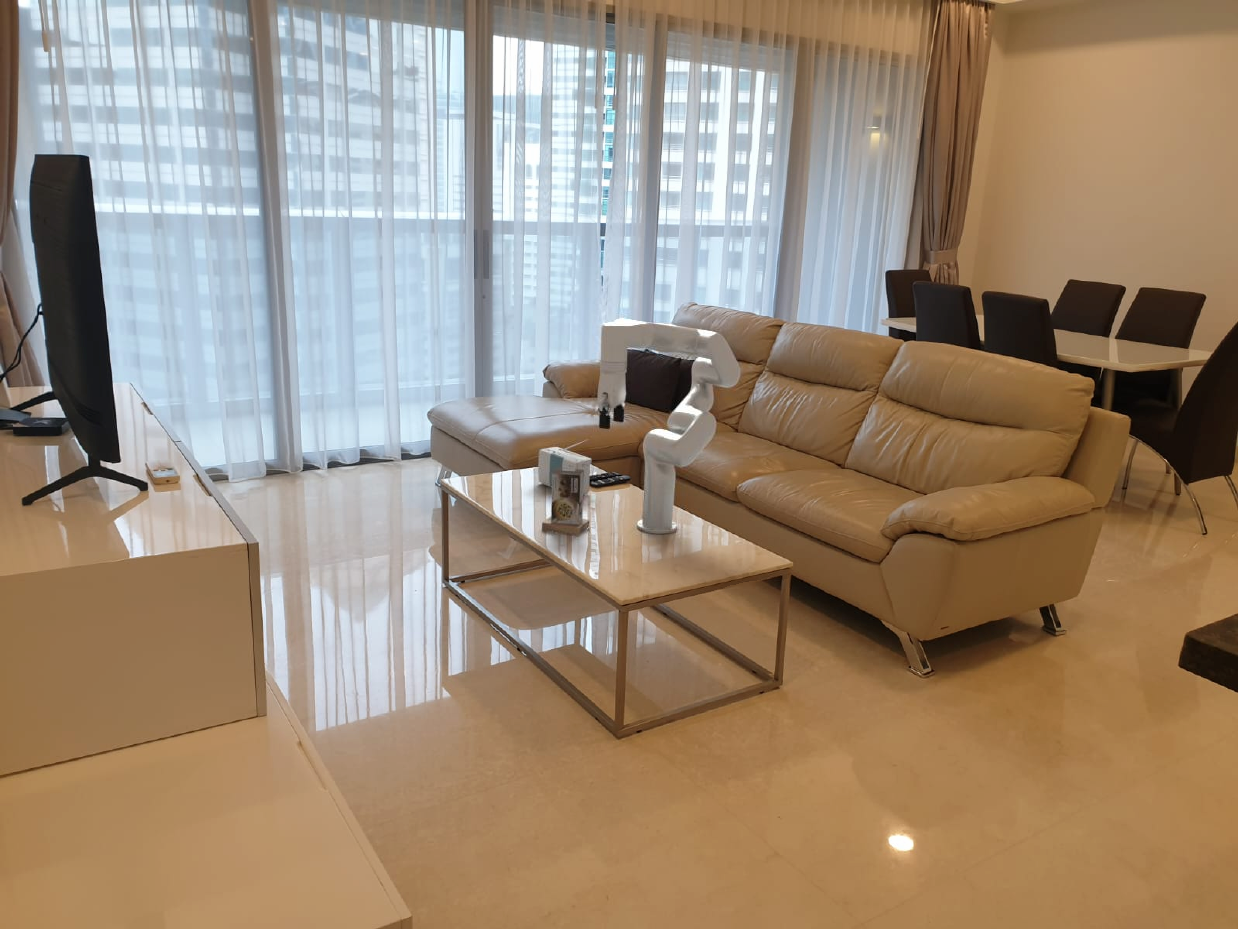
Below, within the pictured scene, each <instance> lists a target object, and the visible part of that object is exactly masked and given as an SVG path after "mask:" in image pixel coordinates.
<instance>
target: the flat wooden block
mask: <svg viewBox="0 0 1238 929" xmlns="http://www.w3.org/2000/svg"><path fill="white" fill-rule="evenodd" d="M588 527H589V528H590V520H589V519H586V518H585V519H584V518H583V519H582V521H581V523H580V525H572V524H559V523H551V516H550V517H548V518H547V519H545V520H544V521H542V522H541V531H545V532H550V531H553V532H552V533H556V532H557V534H562V535H567V534H569V535H568V536H573V535H574V536H575V537H580V535H582V534H583V533H584V532H586V529H587V528H588ZM589 528H588V529H589ZM588 529H587V530H588ZM574 536H573V537H574Z"/></svg>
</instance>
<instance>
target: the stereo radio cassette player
mask: <svg viewBox="0 0 1238 929" xmlns="http://www.w3.org/2000/svg"><path fill="white" fill-rule="evenodd" d="M586 441H589V439H588V438H587V439H585V440H583V441H581V442H577V443H575V444H573V445H570V446H568V447H566V448H561V447H558V446H552V447H547V448H541V449H539V451H538V462H537V463H538V465H537V466H538V468H537V469H538V470H537V473H538V474H537V475H538V482H540V483H541V484H542V485H543V484H544V485H545V486H546V487H549V488H552V473H553V471H554V470H555V468H566V469H579V470H584V479H583V496H584V495H585V494H586V495H588V493H590V478H591V477H590V475H591V474H590V473H591V465H592V458H591V457H588V456H585V455H581V454H578V453H576V452H574V451H573V452H572V451H569V450H568V449H571V448H573V447H575V446H578V445H580V444H582V443H584V442H586Z"/></svg>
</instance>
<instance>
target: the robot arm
mask: <svg viewBox="0 0 1238 929" xmlns="http://www.w3.org/2000/svg"><path fill="white" fill-rule="evenodd" d="M600 330H601V332H600V334H601V335H600V336H601V337H600V363H599V364H600V366H599V370H600V371H599V372H600V373H599V374H600V375H599V378H598V379H599V380H598V387H597V399H596V400H597V401H596V404H597V406H598V409H597V410H598V415H599V419H598V420H599V421H598V428H599V429H603V430H610V429H611V415H610V412H611V410H612V409H613V415H612V416H613V418H612V420H613V422H614V423H615V422H616V423H624V421H625V408H626V405H625V403H626V398H627V397H626V396H627V391H626V373H627V372H628V371H627V367H628V349H630V348H631V349H648V350H652V351H655V352H660V353H664V354H672V355H680V356H687V357H694V358H696V359H695V360H694V361H693V363H692V366H691V385H690V386H691V387H690V391H689V392H688V394H687V395H686V396H685V397H684V398H683V399H682V400H681V402H680V403H678V405H677V406H676V408H675V409H673V411H672V412H671V413H670V415H669V417H667V418H668V419H667V421H666V422H667V427H668V429H669V430H667V429H663V428H656V429H655V428H654V429H652V430H650V431H648V433H646V434H645V436H644V438H643V444H642V446H643V447H642V449H643V450H642V451H643V455H644V456H643V458H644V485H643V500H642V502H643V503H642V514H641V515H642V518H641V519H639V520H638V521H637V522H636V527H637V529H638V530H640V531H642V532H644V533H648V534H656V535H664V534H671V533H674V532H675V531H676V530H677V529H678V525H677V523H676V522H675V521H673V515H674V503H675V502H674V501H675V489H676V488H675V486H676V485H675V484H676V470H675V469H676V467H679V468H683V467H684V468H685V467H687V466H689V465H690V464H691V463H693V462H694V460H695V459H696V458H697V457H698V456H699V454H700V453H701V452H702V451H703V450H704V448H705V447H706V446H707V445H708V444H709V443H710V441H711V440H712V439H713V438H714V435H715V434H716V430H717V420H716V417H715V416H714V414H712V413H711V412H710V410H711V409H712V407H713V406H714V400H715V399H714V398H715V397H714V387H713V386H717V387H722V388H727V389H728V388H732V387H733V388H734V386H736V385H737V384H738V382H739V381H740V377H741V368H740V364H739V363H738V361H737V358H736V357H735V355H734V353H733V352H734V351H732V349H731V346H730V345H729V343H728V341H727V340H726V339H725V337H724V336H723V335H722V334H721V333H719V332H716V331H710V330H704V329H699V328H692V327H687V326H681V325H674V324H668V323H655V322H653V323H652V322H647V321H640V320H639V321H638V320H633V319H628V318H618V319H616V320H614V321H613V322H605V323H603V324H602V326H601V329H600Z"/></svg>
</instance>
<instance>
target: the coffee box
mask: <svg viewBox="0 0 1238 929" xmlns="http://www.w3.org/2000/svg"><path fill="white" fill-rule="evenodd" d="M583 479H584V470H579V469H566V468H555V470H554V471H553V473H552V487H551V504H550V505H551V506H550V507H551V508H550V510H551V513H550V517H551V523H559V524H572V525H580V523H581V521H582V519H584V518H583V515H584V513H583V510H584V509H583V508H584V507H583V506H584V495H583Z"/></svg>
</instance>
